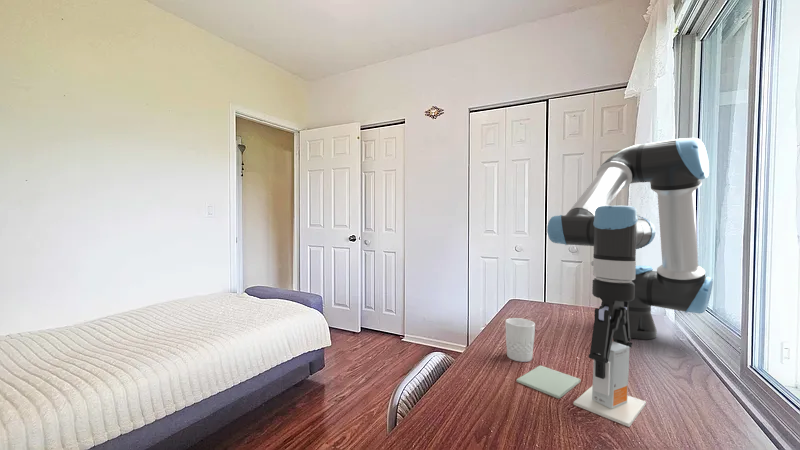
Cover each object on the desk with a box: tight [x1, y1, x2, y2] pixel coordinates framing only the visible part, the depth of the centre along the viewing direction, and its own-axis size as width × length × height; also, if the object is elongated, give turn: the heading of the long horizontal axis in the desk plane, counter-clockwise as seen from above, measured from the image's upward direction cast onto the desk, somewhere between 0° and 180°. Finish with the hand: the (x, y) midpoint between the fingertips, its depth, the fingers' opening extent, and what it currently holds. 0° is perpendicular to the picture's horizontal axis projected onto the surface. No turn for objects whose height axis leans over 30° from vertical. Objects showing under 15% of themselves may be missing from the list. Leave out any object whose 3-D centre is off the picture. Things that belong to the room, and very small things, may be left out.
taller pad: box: [573, 384, 647, 428], centre depth 71 cm, size 12×10×1 cm
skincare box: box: [592, 340, 631, 409], centre depth 71 cm, size 6×4×12 cm
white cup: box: [505, 317, 536, 363], centre depth 95 cm, size 8×8×10 cm
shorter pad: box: [516, 364, 582, 400], centre depth 81 cm, size 12×10×1 cm
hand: (610, 383), depth 71 cm, fingers open, 10 cm apart
